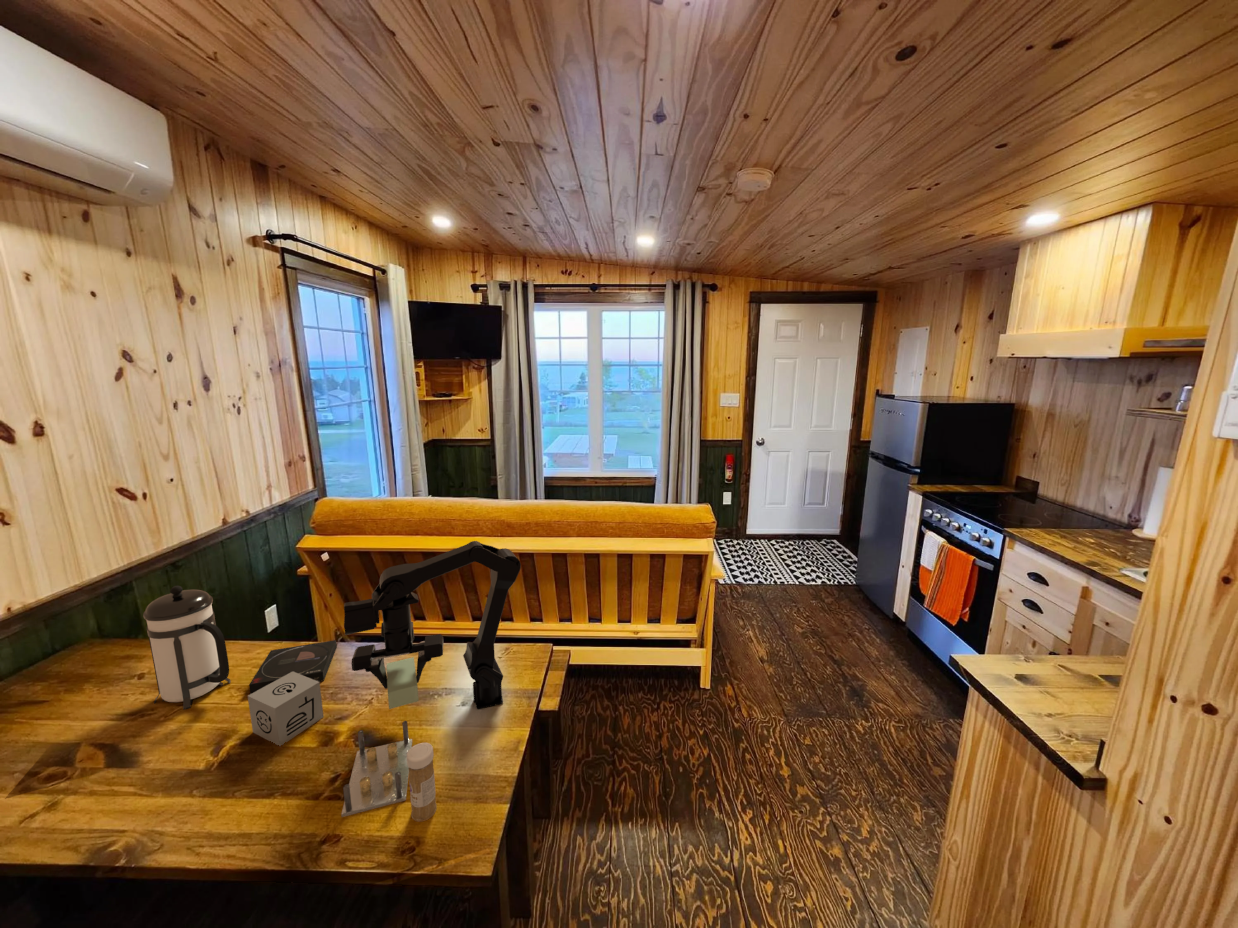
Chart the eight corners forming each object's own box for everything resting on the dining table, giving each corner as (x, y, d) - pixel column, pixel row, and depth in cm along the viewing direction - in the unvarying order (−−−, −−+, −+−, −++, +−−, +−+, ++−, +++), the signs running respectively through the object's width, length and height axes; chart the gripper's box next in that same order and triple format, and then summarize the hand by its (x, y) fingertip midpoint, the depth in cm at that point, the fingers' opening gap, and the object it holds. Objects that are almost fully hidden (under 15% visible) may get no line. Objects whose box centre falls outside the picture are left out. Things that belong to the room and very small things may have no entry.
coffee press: (141, 724, 111) (118, 607, 106) (167, 685, 125) (148, 580, 120) (233, 701, 119) (216, 591, 114) (247, 668, 133) (233, 568, 128)
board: (387, 678, 113) (386, 663, 113) (414, 671, 116) (413, 656, 115) (389, 709, 103) (387, 692, 102) (418, 700, 105) (417, 685, 105)
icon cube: (323, 718, 114) (319, 681, 112) (280, 748, 105) (274, 708, 103) (297, 707, 118) (292, 671, 116) (253, 734, 109) (247, 695, 107)
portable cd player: (337, 650, 143) (336, 638, 142) (324, 684, 127) (322, 671, 126) (273, 661, 137) (271, 649, 136) (251, 698, 121) (249, 684, 120)
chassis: (357, 754, 103) (355, 730, 102) (412, 742, 106) (410, 719, 105) (341, 818, 88) (338, 790, 87) (405, 801, 91) (403, 774, 90)
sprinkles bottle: (407, 813, 89) (401, 751, 87) (429, 797, 92) (425, 737, 90) (418, 828, 86) (413, 764, 84) (441, 811, 89) (437, 749, 87)
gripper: (442, 601, 117) (445, 658, 120) (358, 612, 111) (364, 672, 114) (440, 623, 107) (444, 684, 109) (348, 636, 101) (354, 701, 103)
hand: (402, 684), depth 109 cm, fingers closed on board, 6 cm apart
